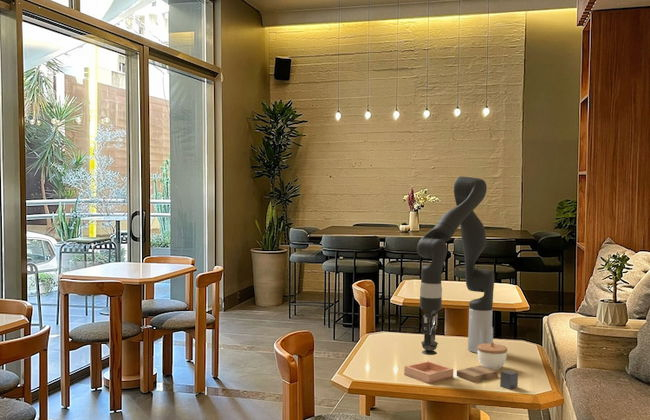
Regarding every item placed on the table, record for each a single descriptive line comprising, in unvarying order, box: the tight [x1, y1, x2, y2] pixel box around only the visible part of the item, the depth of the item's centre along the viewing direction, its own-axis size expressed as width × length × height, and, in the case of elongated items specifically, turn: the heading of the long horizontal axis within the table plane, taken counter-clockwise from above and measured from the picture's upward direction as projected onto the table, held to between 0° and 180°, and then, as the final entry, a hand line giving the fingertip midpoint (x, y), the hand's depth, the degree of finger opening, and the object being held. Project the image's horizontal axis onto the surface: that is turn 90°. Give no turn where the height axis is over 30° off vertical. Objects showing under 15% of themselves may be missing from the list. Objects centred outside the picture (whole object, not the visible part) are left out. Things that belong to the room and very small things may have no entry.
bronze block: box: [456, 364, 499, 383], centre depth 224 cm, size 12×8×2 cm, turn 124°
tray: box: [403, 360, 454, 384], centre depth 224 cm, size 12×12×3 cm
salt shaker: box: [420, 327, 439, 356], centre depth 223 cm, size 6×6×12 cm
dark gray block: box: [499, 369, 519, 390], centre depth 213 cm, size 4×4×5 cm
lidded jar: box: [477, 341, 508, 371], centre depth 235 cm, size 11×11×9 cm
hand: (429, 342), depth 223 cm, fingers closed on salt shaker, 6 cm apart
